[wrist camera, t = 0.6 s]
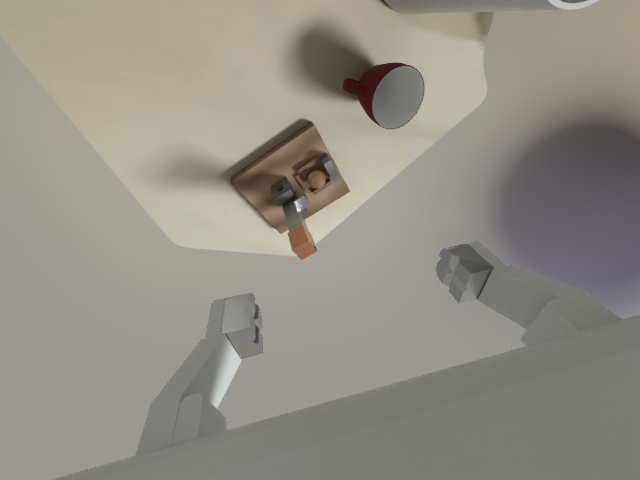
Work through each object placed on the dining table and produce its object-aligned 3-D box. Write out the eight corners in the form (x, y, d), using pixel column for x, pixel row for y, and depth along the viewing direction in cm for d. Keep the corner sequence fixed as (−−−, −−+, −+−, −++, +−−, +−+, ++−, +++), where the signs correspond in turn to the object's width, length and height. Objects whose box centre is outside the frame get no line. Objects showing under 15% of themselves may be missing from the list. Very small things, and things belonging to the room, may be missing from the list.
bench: (230, 177, 46) (230, 196, 41) (311, 121, 43) (322, 135, 38) (279, 228, 57) (284, 249, 52) (346, 186, 54) (358, 204, 49)
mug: (331, 111, 43) (351, 130, 36) (336, 54, 38) (360, 62, 31) (385, 111, 46) (414, 129, 38) (397, 57, 40) (433, 66, 33)
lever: (279, 199, 46) (292, 250, 36) (299, 186, 45) (318, 234, 35) (287, 209, 48) (302, 259, 38) (307, 196, 47) (327, 245, 37)
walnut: (302, 177, 48) (305, 186, 45) (313, 162, 46) (317, 171, 44) (315, 186, 50) (319, 195, 47) (326, 172, 48) (331, 181, 46)
